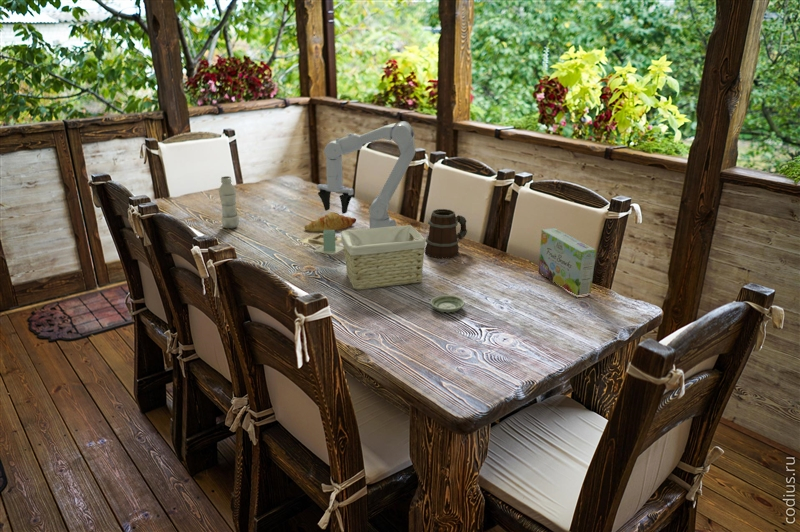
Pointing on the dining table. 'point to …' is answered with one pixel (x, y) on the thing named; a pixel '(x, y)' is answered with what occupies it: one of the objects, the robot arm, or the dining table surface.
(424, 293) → the dining table surface
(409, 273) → the storage basket
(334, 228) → the croissant
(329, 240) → the block
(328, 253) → the coaster
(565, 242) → the snack box
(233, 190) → the plastic bottle
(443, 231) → the mug
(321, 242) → the pocket board
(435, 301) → the saucer
